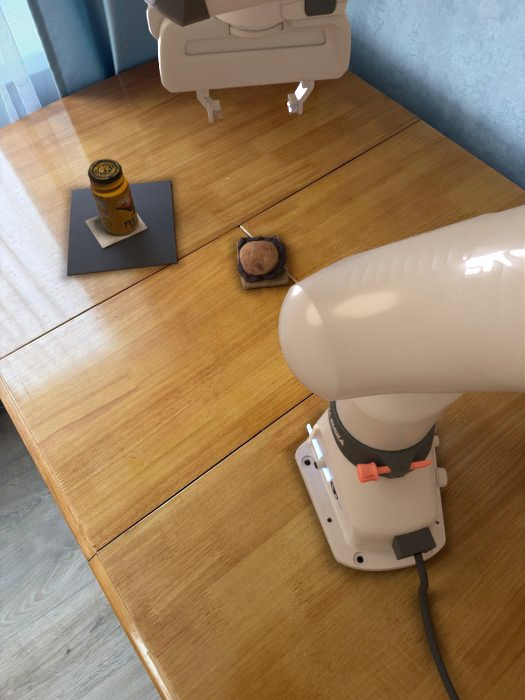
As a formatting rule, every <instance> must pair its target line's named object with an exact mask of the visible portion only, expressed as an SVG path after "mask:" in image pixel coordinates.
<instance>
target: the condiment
mask: <svg viewBox="0 0 525 700" xmlns="http://www.w3.org/2000/svg"><path fill="white" fill-rule="evenodd" d="M87 176H88V178H89V183H90V184H89V188H90V189H91V192H92V195H93V198H94V200H95V203H96V206H97V209H98V211H99V214H100V215H98V216H97V217H94V218H91V219H89V220H86V221H85V222H86V223H87V225H88V226H89V228H90V230H91V231H92V233H93V234H94V236H95V237H96V239H97V240H98V242H99V243H100V245H101V246H102V248H104V247H106V246H108V245H111V244H113V243H115V242H118V241H119V240H122V239H125V238H127V237H130V236H132V235H134V234H136V233H138V232H140V231H143V230H145V229H147V228H148V227H147V226H146V225H145V223H144V222H143V221H142V220H141V218H140V217H139V215H138V214H137V213H136V209H135V205H134V201H133V198H132V195H131V191H130V187H129V184H130V183H129V181H128V178H127V176H126V175H125V174H124V171H123V167H122V165H121V163H120V162H118V161H117V160H115V159H112V158H101V159H98V160H94V162H92V163H91V164H90V165H89V167H88V170H87Z"/></svg>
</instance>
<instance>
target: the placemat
mask: <svg viewBox="0 0 525 700" xmlns="http://www.w3.org/2000/svg"><path fill="white" fill-rule="evenodd" d="M129 187H130V191H131V195H132V198H133V201H134V205H135V209H136V213H137V214H138V215H139V217H140V218H141V220H142V221H143V222H144V223H145V225H146V226H147V227H148V228H147V229H145V230H143V231H140V232H138V233H136V234H134V235H132V236H130V237H127V238H125V239H122V240H119V241H118V242H115V243H113V244H111V245H108V246H106V247H104V248H102V246H101V245H100V243H99V242H98V240H97V239H96V237H95V236H94V234H93V233H92V231H91V230H90V228H89V226H88V225H87V223H86V222H85V221H86V220H89V219H91V218H94V217H97V216H98V215H100V214H99V211H98V209H97V206H96V203H95V200H94V198H93V195H92V192H91V189H90V187H88V188H77V189H71V194H70V195H71V196H70V213H69V214H70V215H69V229H68V230H69V231H68V232H69V233H68V246H67V247H68V249H67V265H66V276H77V275H86V274H94V273H95V274H96V273H104V272H112V271H120V270H130V269H139V268H147V267H148V268H149V267H156V266H157V267H158V266H167V265H176V264H178V257H177V246H176V245H177V244H176V234H175V233H176V231H175V220H174V219H175V218H174V208H173V195H172V182H171V180H170V179H167V180H157V181H147V182H140V183H139V182H138V183H137V182H136V183H129Z"/></svg>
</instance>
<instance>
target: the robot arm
mask: <svg viewBox="0 0 525 700" xmlns="http://www.w3.org/2000/svg"><path fill="white" fill-rule="evenodd" d="M143 2H145V3H146V4H147V8H146V19H147V25H148V30H149V32H150V34H151V35H152V37H153V38H154V39H155V40H156V41H157V44H158V45H157V47H158V48H157V49H158V63H159V74H160V81H161V84H162V86H163V87H164V88H165V89H166V90H167V91H168V92H170V93H184V92H195V94H196V99H197V100H198V101H199V102H200V105H202V106H203V108H204V109H205V110H206V111H207V116H208V123H209V124H210V123H219V122H220V123H221V122H222V121H223V120H222V108H221V101H220V99H212V98H211V96H210V90H219V89H231V88H243V87H254V86H264V85H276V84H278V85H279V84H287V83H299V85H298V87H297V89H296V90H295V91H294V92H293V93H287V111H288V115H289V116H295V115H297V116H299V115H302V114H303V110H304V109H303V107H304V103H305V101H306V100H307V99H308V97H309V96H310V95H311V93H312V92H313V90H314V88H315V81H322V80H335V79H336V80H337V79H341V77H343V76H344V74H346V72H347V71H348V69H349V67H350V62H351V61H350V60H351V49H352V48H351V46H352V32H351V24H350V20H349V18H348V15H347V12H346V8H347V5H348V0H143ZM277 324H278V325H277V326H278V332H277V334H278V341H279V346H280V350H281V351H280V352H281V353H282V356H283V359H284V361H285V363H286V365H287V367H288V369H289V370H290V372H291V373H292V375H293V376H294V377H295V379H297V381H298V382H299V383H300V384H301V385H302V386H303V387H305V388H306V390H308V391H310V392H311V393H312V394H314V395H316V396H318V397H319V398H321V399H323V400H325V401H327V402H328V407H327V409H326V410H325V411H324V413H323V414H322V415H321V416H320V418H319V419H318V420H317V421H316V422H315V424H314V425H313V427H311V425H310V423H308V424H307V425H306V428H307V432H308V433H309V436H308V438H306V440H304V441H303V442H302V443H301V444H300V445H299V446H298V447H297V449H296V451H295V453H294V459H295V463H296V465H297V467H298V470H299V473H300V475H301V477H302V480H303V482H304V485H305V487H306V488H305V489H306V490H307V492H308V495H309V498H310V501H311V503H312V506H313V508H314V510H315V513H316V515H317V518H318V520H319V522H320V525H321V528H322V531H323V533H324V535H325V538H326V540H327V543H328V545H329V548H330V551H331V554H332V556H333V557H334V559H335V561H336V562H337V563H338V564H340V565H343V566H345V567H347V568H349V569H354V570H357V571H363V572H385V571H395V570H399V569H404V568H405V569H406V568H409V567H413V566H416V569H417V573H418V578H419V585H418V588H417V593H418V601H419V602H418V603H419V607H420V613H421V619H422V623H423V628H424V631H425V635H426V640H427V642H428V646H429V649H430V653H431V655H432V658H433V661H434V664H435V667H436V669H437V673H438V675H439V678H440V680H441V683H442V684H443V687H444V689H445V692H446V694H447V696H448V697H449V700H461V698H460V697H459V695H458V693H457V691H456V689H455V687H454V684H453V682H452V680H451V677H450V675H449V672H448V670H447V668H446V664H445V662H444V659H443V657H442V654H441V650H440V647H439V644H438V641H437V637H436V634H435V631H434V627H433V624H432V618H431V612H430V607H429V602H428V594H427V593H428V590H429V588H430V584H429V583H430V582H429V576H428V571H427V567H426V564H425V562H426V561H427V560H429V559H431V558H433V557H434V556H435V555H437V554H438V552H440V551H441V550H442V548H443V547H444V546H445V544H446V542H447V541H446V530H445V521H444V512H443V505H442V496H441V489H440V488H445V487H447V485H448V472H447V470H446V469H445V467H438V464H437V455H436V448H437V447H439V445H440V438H439V436H438V435H435V434H436V433H437V426H438V420H440V419H439V418H440V417H441V416H442V415H443V414H444V412H445V411H446V410H447V408H448V407H449V406H451V404H453V403H455V401H456V400H458V399H459V398H460V397H462V396H464V395H465V394H473V393H494V392H495V393H496V392H497V393H498V392H499V393H501V392H504V393H505V392H506V393H508V392H509V393H522V394H525V204H522V205H518V206H514V207H511V208H508V209H505V210H502V211H498V212H497V211H496V212H488V213H483V214H480V215H477V216H473V217H470V218H467V219H464V220H461V221H457V222H454V223H451V224H448V225H445V226H441V227H437V228H435V229H431V230H429V231H425V232H421V233H418V234H414V235H412V236H410V237H406V238H403V239H400V240H397V241H392V242H389V243H387V244H383V245H380V246H377V247H374V248H371V249H368V250H365V251H361V252H357V253H355V254H352V255H351V254H350V255H348V256H345V257H343V258H341V259H340V260H337V261H335V262H333V263H331V264H329V265H327V266H325V267H323V268H321V269H320V270H317V271H316V272H314V273H312V274H310V275H309V276H306V277H305V278H302V279H301V280H300V281H298V282H296V283H295V284H293V285H292V286H290V287H289V289H288V291H287V293H286V294H285V297H284V299H283V301H282V304H281V307H280V311H279V317H278V323H277ZM305 462H309V463H310V464H309V465H307V464H306V463H305ZM329 520H330V522H329ZM358 558H361V559H362V562H358Z"/></svg>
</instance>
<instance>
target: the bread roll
mask: <svg viewBox="0 0 525 700" xmlns="http://www.w3.org/2000/svg"><path fill="white" fill-rule="evenodd" d="M235 246H236V259H237V272H238V274H239V278H240V281H241V285H242V288H243V289H244V290H249V289H257V288H264V287H277V286H284V285H285V286H286V285H289V281H290V280H289V279H290V278H289V271H288V263H287V260H288V256H287V247H286V245H285V243H284V242H281V239H280V237H279V236H277V235H276V234H275V235H273V236H266V237H265V236H262V235H259V236H254V237H253V236H250V237H249V236H248V237H240V238H239V239H238V240H237V241H236V244H235Z"/></svg>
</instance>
